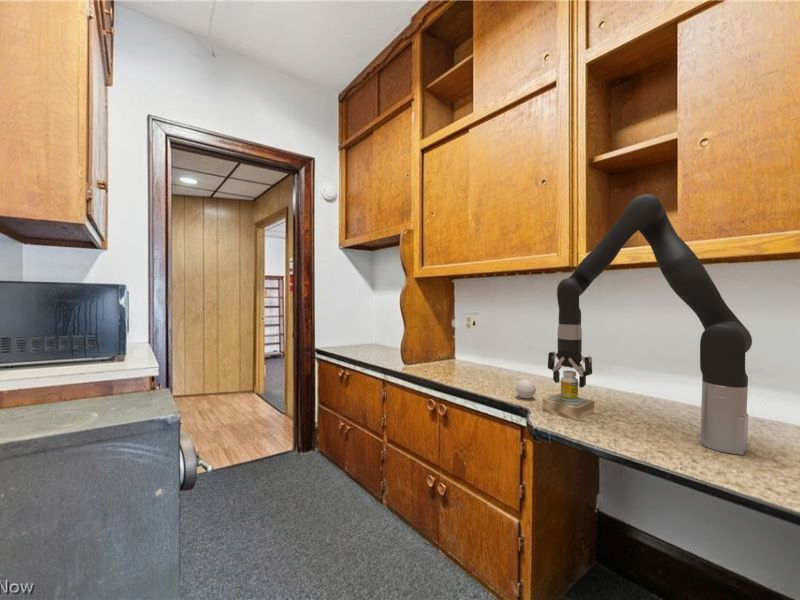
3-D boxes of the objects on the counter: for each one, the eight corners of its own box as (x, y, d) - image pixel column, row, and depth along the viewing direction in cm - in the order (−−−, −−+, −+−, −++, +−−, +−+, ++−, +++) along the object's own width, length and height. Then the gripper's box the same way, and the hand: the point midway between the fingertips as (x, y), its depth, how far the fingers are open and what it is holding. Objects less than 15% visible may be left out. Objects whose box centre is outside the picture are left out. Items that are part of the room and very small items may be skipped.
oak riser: (594, 412, 129) (594, 400, 128) (577, 420, 121) (577, 407, 121) (559, 404, 138) (560, 392, 138) (542, 411, 130) (542, 398, 130)
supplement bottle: (566, 396, 133) (566, 369, 132) (581, 400, 128) (581, 372, 128) (557, 398, 130) (557, 371, 129) (572, 402, 125) (572, 374, 125)
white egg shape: (531, 402, 140) (531, 382, 139) (512, 398, 145) (512, 379, 144) (541, 396, 147) (541, 378, 147) (522, 393, 152) (523, 375, 152)
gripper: (596, 338, 125) (595, 387, 126) (554, 334, 136) (554, 379, 137) (586, 340, 121) (585, 390, 121) (544, 336, 131) (543, 382, 132)
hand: (568, 384), depth 129 cm, fingers open, 8 cm apart
